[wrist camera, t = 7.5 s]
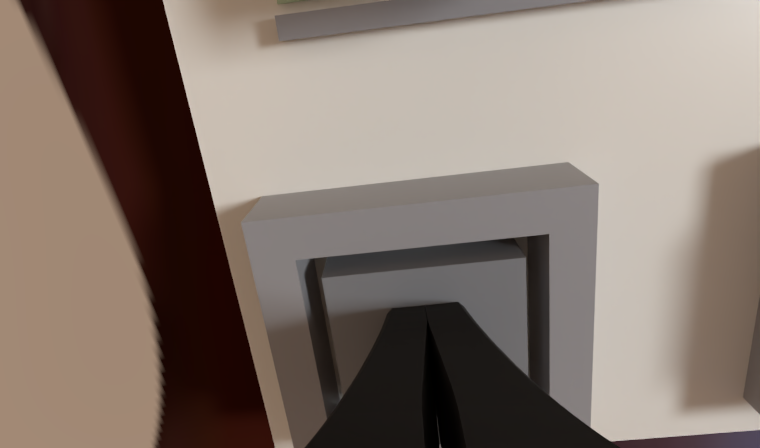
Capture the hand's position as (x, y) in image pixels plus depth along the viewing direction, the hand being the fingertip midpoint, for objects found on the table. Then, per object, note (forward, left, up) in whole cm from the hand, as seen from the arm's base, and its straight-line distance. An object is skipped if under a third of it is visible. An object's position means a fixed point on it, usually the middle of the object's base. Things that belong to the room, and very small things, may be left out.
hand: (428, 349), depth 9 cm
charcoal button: (0, 0, -1) cm, 1 cm away
